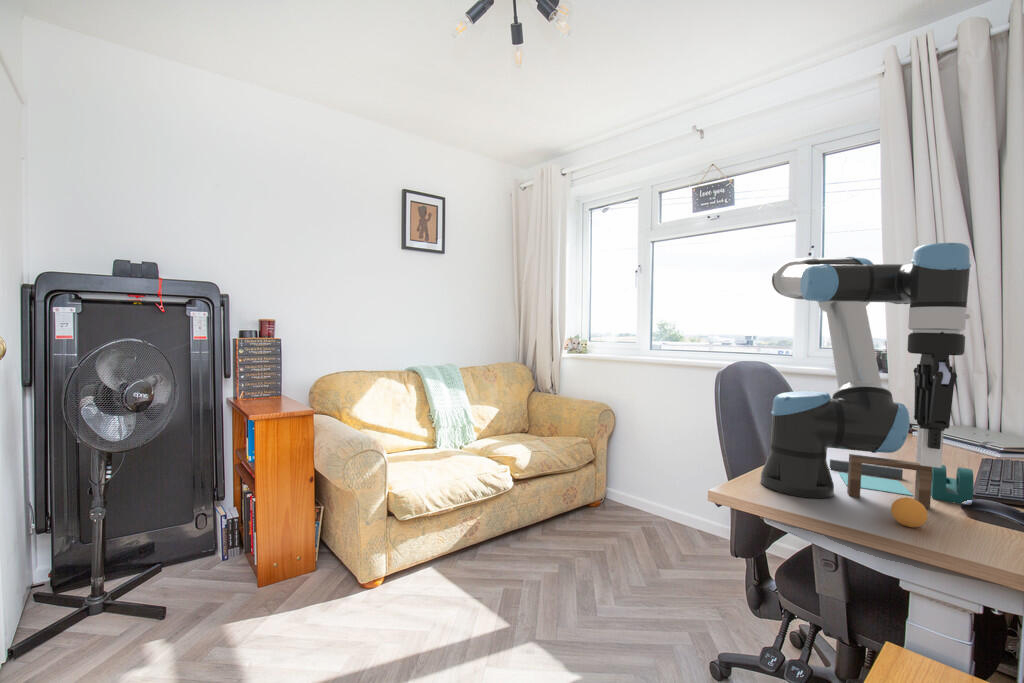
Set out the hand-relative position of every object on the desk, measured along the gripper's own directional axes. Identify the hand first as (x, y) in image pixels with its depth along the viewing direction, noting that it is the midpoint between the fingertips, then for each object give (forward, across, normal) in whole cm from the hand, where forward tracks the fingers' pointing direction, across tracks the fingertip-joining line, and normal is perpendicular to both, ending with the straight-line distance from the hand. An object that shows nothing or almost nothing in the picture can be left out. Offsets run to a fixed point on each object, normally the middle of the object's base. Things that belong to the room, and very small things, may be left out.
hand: (928, 464), depth 84 cm
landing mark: (+14, +40, 0) cm, 43 cm away
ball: (+12, +10, 0) cm, 15 cm away
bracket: (+15, +42, -15) cm, 48 cm away
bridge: (+14, +26, 0) cm, 30 cm away
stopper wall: (+14, +51, 0) cm, 53 cm away
